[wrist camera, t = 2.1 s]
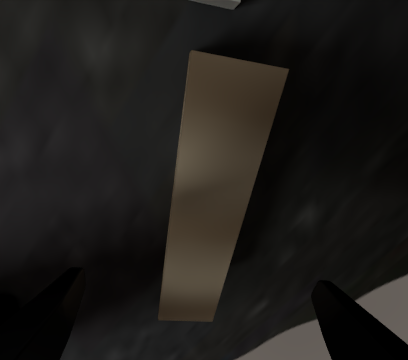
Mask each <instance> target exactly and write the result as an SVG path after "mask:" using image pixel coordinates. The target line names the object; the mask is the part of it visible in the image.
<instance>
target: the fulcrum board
mask: <svg viewBox="0 0 408 360" xmlns="http://www.w3.org/2000/svg"><path fill="white" fill-rule="evenodd" d="M190 1H195V2H199V3H204V4H209V5H213V6H218V7H222V8H227V9H232V10H234V9H235V8H236V6H237V5H238V4H239V3H240V2H241V0H190Z"/></svg>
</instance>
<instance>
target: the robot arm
mask: <svg viewBox="0 0 408 360" xmlns="http://www.w3.org/2000/svg"><path fill="white" fill-rule="evenodd" d="M85 285H86V283H85V273H84V269H83V268H77V267H72V268H69V269H68V270H67V271H66V272H64V273H63V274H62V275H61V276H60V277H59V278H57V279H56V280H55V281H54V282H53V283H51V284H50V285H49V286H48V287H47V288H45V289H44V290H43V291H42V292H41V293H39V294H38V295H37V296H36V297H35V298H34V299H32V300H31V301H30V302H29V303H28V304H26V305H25V306H24V307H23V308H22V309H20V310H19V307H18V304H17V301H16V299H15V298H14V297H11V296H0V360H60V358H61V356H62V353H63V351H64V349H65V346H66V344H67V342H68V339H69V337H70V334H71V331H72V328H73V325H74V321H75V318H76V315H77V312H78V309H79V306H80V303H81V300H82V297H83V294H84V290H85ZM311 298H312V302H313V306H314V309H315V312H316V315H317V319H318V322H319V325H320V328H321V332H322V335H323V338H324V341H325V343H326V346H327V349H328V351H329V354H330V356H331V359H332V360H408V345H407V344H406V343H405V342H404V341H403V340H402V339H400V338H399V337H398V336H397V335H395V334H394V333H393V332H392V331H391V330H389V329H388V328H387V327H386V326H384V325H383V324H382V323H381V322H379V321H378V320H377V319H376V318H374V317H373V316H372V315H371V314H370V313H369V312H367V311H366V310H365V309H364V308H362V307H361V306H360V305H359V304H357V303H356V302H355V301H354V300H353V299H352V298H350V297H349V296H348V295H347V294H345V293H344V292H343V291H342V290H341V289H339V288H338V287H337V286H336V285H334V284H333V283H332V282H330V281H325V280H320V281H318V283H317V285H316V286H315V288H314V290H313V292H312V294H311Z"/></svg>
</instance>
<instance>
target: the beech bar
mask: <svg viewBox="0 0 408 360" xmlns="http://www.w3.org/2000/svg"><path fill="white" fill-rule="evenodd" d="M288 71H289V69H285V68H280V67H275V66H270V65H265V64H260V63H255V62H250V61H244V60H239V59H234V58H229V57H224V56H219V55H214V54H209V53H204V52H198V51H193V50H191V52H190V55H189V63H188V71H187V79H186V87H185V96H184V104H183V112H182V120H181V128H180V137H179V145H178V153H177V161H176V169H175V177H174V186H173V194H172V202H171V210H170V218H169V227H168V235H167V243H166V251H165V259H164V268H163V276H162V286H161V295H160V305H159V314H158V320H173V321H209V322H212V321H213V317H214V314H215V311H216V308H217V304H218V301H219V298H220V294H221V291H222V288H223V285H224V281H225V278H226V275H227V271H228V268H229V265H230V262H231V258H232V255H233V252H234V248H235V245H236V242H237V239H238V235H239V232H240V229H241V225H242V222H243V219H244V216H245V212H246V209H247V206H248V202H249V199H250V196H251V193H252V189H253V186H254V183H255V179H256V176H257V173H258V170H259V166H260V163H261V160H262V156H263V153H264V150H265V147H266V143H267V140H268V137H269V133H270V130H271V127H272V124H273V120H274V117H275V114H276V110H277V107H278V104H279V101H280V97H281V94H282V91H283V87H284V84H285V81H286V78H287V74H288Z"/></svg>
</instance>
